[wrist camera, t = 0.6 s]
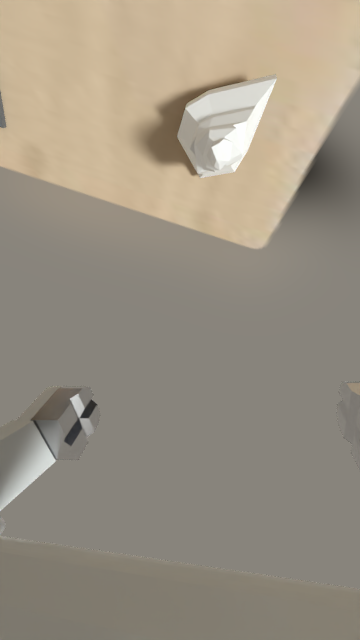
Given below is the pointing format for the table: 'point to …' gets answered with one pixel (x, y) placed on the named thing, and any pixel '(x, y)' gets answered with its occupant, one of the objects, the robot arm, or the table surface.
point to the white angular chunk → (223, 125)
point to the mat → (2, 115)
